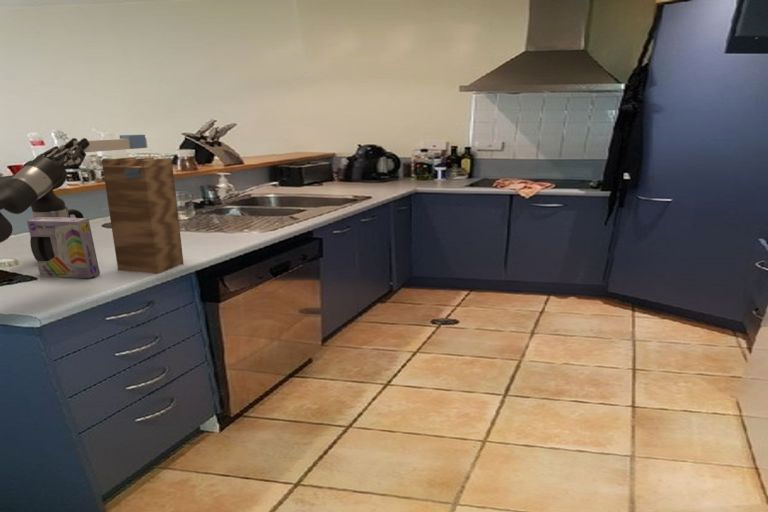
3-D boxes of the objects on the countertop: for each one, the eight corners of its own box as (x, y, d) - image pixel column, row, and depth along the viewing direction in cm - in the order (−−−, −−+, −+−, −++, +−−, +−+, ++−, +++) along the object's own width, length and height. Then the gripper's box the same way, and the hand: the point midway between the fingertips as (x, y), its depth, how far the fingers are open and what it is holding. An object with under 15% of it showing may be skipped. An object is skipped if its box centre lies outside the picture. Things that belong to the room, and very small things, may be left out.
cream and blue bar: (84, 152, 137) (82, 137, 136) (73, 152, 138) (70, 137, 137) (148, 147, 159) (147, 134, 158) (138, 147, 160) (136, 134, 159)
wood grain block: (156, 274, 153) (141, 160, 144) (116, 270, 158) (99, 160, 149) (183, 263, 165) (171, 157, 156) (145, 260, 169) (132, 157, 160)
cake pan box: (34, 276, 153) (23, 218, 148) (49, 271, 157) (38, 215, 153) (88, 280, 148) (78, 221, 144) (101, 275, 153) (92, 217, 149)
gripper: (49, 167, 122) (94, 128, 133) (6, 165, 126) (53, 128, 137) (67, 191, 127) (109, 152, 138) (25, 189, 131) (69, 152, 142)
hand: (81, 141), depth 138 cm, fingers closed on cream and blue bar, 3 cm apart
